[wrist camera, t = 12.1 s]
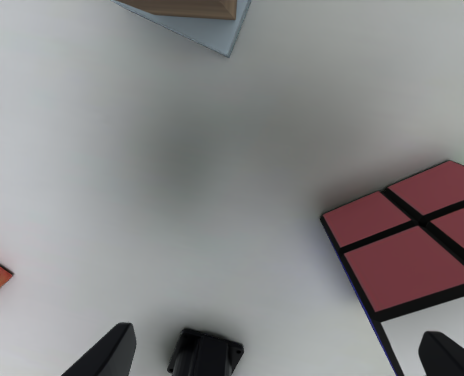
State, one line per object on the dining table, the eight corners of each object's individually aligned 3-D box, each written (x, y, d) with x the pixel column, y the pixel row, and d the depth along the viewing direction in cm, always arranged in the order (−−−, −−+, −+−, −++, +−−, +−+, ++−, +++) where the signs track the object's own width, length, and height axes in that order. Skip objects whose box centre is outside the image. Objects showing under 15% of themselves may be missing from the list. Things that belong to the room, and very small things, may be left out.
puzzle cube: (317, 214, 21) (370, 320, 12) (451, 156, 19) (645, 233, 10) (359, 301, 24) (427, 438, 15) (478, 260, 22) (644, 393, 13)
